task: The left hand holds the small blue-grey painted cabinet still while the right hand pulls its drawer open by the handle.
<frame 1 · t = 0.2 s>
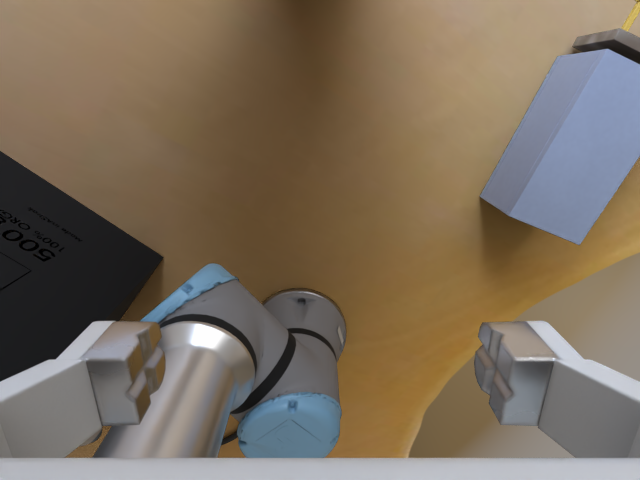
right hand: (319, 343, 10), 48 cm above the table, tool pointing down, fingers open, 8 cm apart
black tall box: (20, 234, 60), on the table
eyeball: (93, 413, 72), on the table
drawer: (596, 103, 49), point 5 cm above the table, slide at 1.3 cm
cabinet: (548, 144, 55), on the table
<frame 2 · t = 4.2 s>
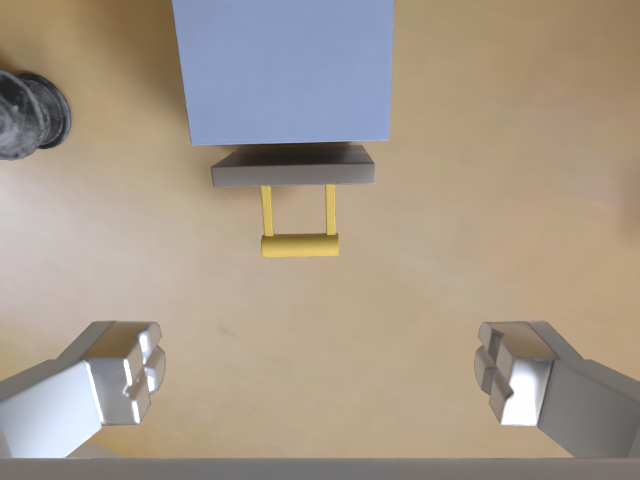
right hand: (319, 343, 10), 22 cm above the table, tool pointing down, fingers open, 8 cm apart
drawer: (292, 63, 24), point 5 cm above the table, slide at 1.3 cm
dark grey chess piece: (36, 112, 30), on the table
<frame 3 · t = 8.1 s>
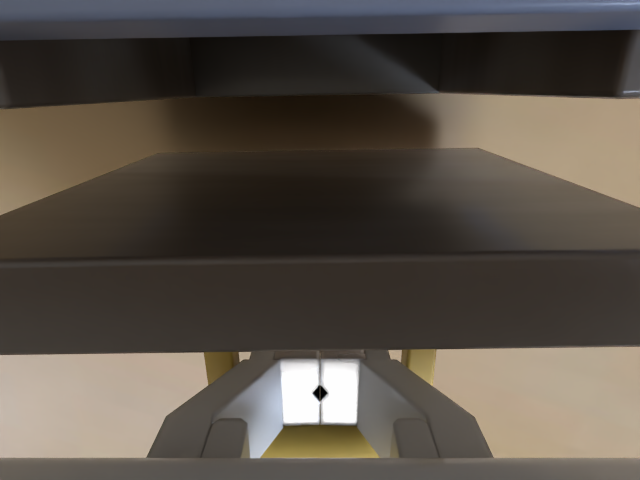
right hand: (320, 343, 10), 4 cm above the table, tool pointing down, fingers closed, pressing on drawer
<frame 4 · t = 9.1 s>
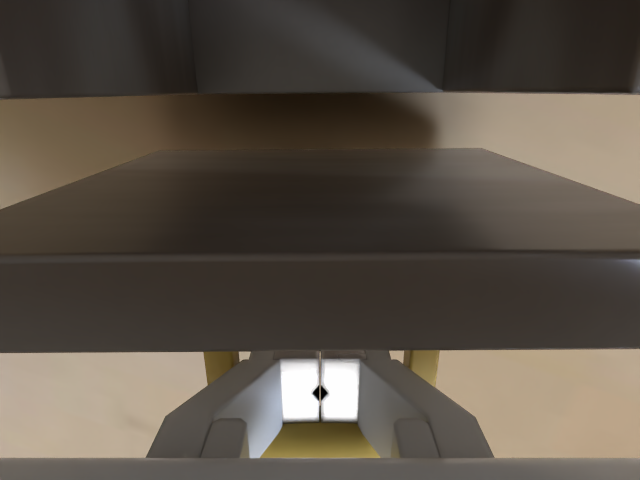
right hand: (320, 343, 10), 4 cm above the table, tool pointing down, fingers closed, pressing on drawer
when the left hand's fingers open (5 cm above the table, at t = 10.7 s): cabinet stays where it is, on the table.
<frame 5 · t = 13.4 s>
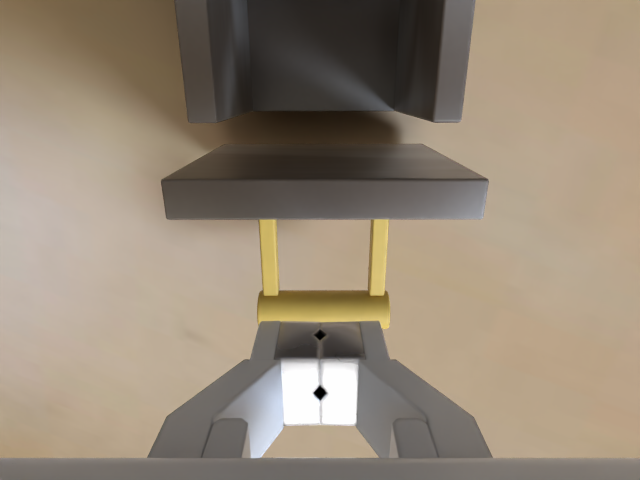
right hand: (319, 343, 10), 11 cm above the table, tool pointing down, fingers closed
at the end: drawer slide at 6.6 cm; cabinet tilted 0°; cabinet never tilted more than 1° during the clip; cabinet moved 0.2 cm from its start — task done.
